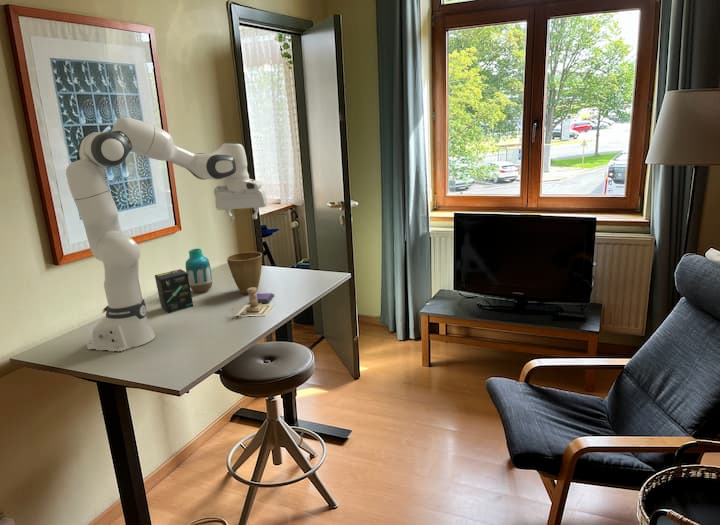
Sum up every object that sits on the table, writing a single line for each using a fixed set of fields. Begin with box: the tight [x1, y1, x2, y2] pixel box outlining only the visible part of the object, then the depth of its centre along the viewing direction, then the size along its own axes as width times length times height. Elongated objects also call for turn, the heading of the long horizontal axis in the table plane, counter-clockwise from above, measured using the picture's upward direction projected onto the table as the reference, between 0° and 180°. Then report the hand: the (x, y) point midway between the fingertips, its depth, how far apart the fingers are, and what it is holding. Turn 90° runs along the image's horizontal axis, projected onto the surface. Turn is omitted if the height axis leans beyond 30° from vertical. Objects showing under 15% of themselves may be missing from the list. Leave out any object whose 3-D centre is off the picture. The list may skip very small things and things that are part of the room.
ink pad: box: [248, 292, 275, 304], centre depth 216 cm, size 8×8×2 cm
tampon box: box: [154, 268, 194, 314], centre depth 215 cm, size 11×9×15 cm
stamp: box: [246, 287, 264, 313], centre depth 203 cm, size 5×5×9 cm
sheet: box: [235, 303, 275, 318], centre depth 205 cm, size 12×12×1 cm
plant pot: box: [226, 251, 263, 294], centre depth 228 cm, size 15×15×16 cm
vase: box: [185, 248, 213, 293], centre depth 233 cm, size 11×11×19 cm
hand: (243, 219), depth 207 cm, fingers open, 8 cm apart
